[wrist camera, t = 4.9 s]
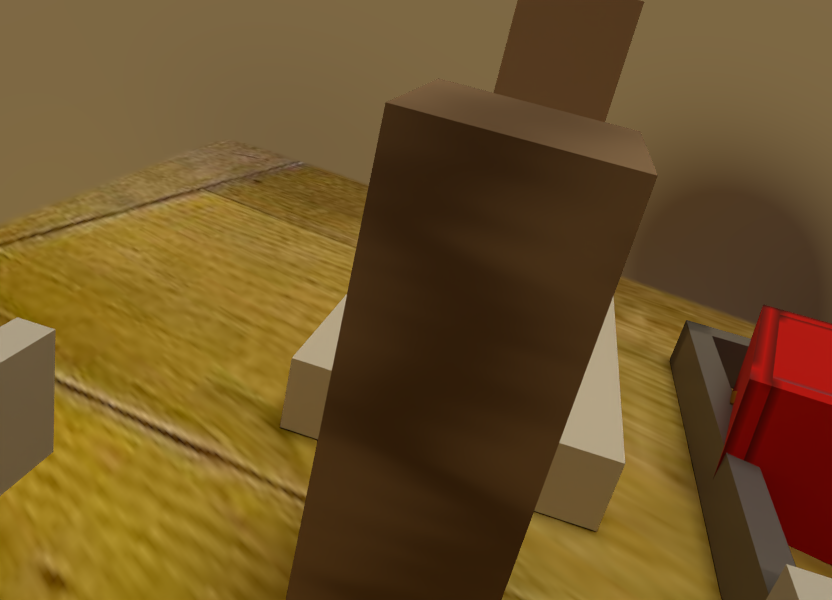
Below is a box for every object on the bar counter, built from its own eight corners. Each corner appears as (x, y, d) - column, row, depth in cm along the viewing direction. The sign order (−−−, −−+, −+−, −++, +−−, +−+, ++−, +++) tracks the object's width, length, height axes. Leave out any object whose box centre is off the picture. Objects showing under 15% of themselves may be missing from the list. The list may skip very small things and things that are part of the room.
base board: (595, 328, 42) (707, 20, 35) (596, 531, 26) (807, 30, 19) (397, 269, 43) (468, -38, 36) (279, 427, 27) (366, -76, 20)
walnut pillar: (487, 568, 23) (640, 131, 17) (462, 707, 18) (658, 175, 13) (338, 517, 23) (438, 78, 18) (277, 638, 19) (385, 102, 13)
